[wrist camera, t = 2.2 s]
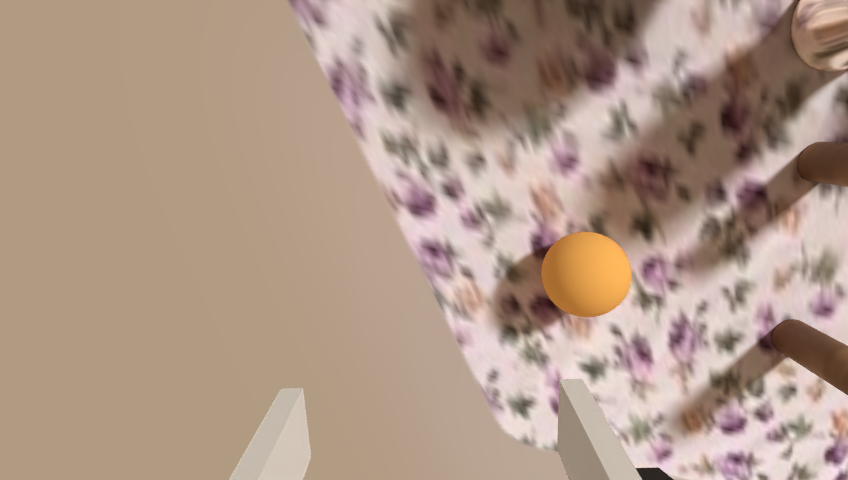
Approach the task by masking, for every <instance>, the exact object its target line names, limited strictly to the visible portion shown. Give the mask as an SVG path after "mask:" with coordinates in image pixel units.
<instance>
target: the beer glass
mask: <svg viewBox="0 0 848 480" xmlns="http://www.w3.org/2000/svg"><path fill="white" fill-rule="evenodd" d="M791 36H792V41H793V45H794V48H795V50H796V52H797V53H798V55H799V56H800V58H801V59H802V60H803V61H804V62H805V63H807V64H808V65H809V66H811V67H813V68H815V69H818V70H822V71H831V72H833V71H842V70H846V69H848V0H799V1H798V3H797V5H796V8H795V11H794V14H793V18H792V24H791Z"/></svg>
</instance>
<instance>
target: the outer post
mask: <svg viewBox="0 0 848 480" xmlns="http://www.w3.org/2000/svg"><path fill="white" fill-rule="evenodd" d="M771 341H772V344H773V346H774V347H775V348H776V349H777V350H779V351H780V352H782V353H783V354H785V355H786V356H788V357H789V358H791V359H792V360H794V361H796V362H797V363H799V364H800V365H802V366H803V367H805V368H806V369H808V370H810V371H811V372H813V373H814V374H816V375H817V376H819V377H820V378H822V379H824V380H825V381H827V382H828V383H830V384H831V385H833V386H834V387H836V388H837V389H839V390H841V391H842V392H844V393H845V394H847V395H848V346H847V345H845V344H843V343H841V342H839V341H837V340H835V339H833V338H831V337H830V336H828V335H826V334H824V333H822V332H820V331H818V330H816V329H814V328H813V327H811V326H809V325H807V324H805V323H803V322H801V321H799V320H787V321H784V322H782V323H780V324H779V325H778V326H777V327H776V328H775V329H774V331H773V333H772V336H771Z"/></svg>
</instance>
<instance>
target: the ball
mask: <svg viewBox="0 0 848 480" xmlns="http://www.w3.org/2000/svg"><path fill="white" fill-rule="evenodd" d="M541 278H542V284H543V287H544V289H545V291H546V293H547V295H548V297H549V298H550V300H551V301H552V302H553V303H554V304H555V305H556V306H557V307H559V308H560V309H562V310H563V311H565V312H567V313H569V314H572V315H575V316H580V317H595V316H600V315H603V314H606V313H608V312H610V311H611V310H613V309H614V308H616V307H617V306H618V305H619V304H620V303H621V302H622V301H623V299H624V298H625V296H626V295H627V293H628V290H629V287H630V284H631V267H630V264H629V260H628V258H627V256H626V255H625V253H624V251H623V250H622V249H621V248H620V246H619V245H617V244H616V243H615V242H614V241H613V240H611V239H609V238H608V237H605V236H603V235H601V234H598V233H593V232H577V233H573V234H570V235H567V236H565V237H563V238H561V239H560V240H558V241H557V242H556V243H555V244H553V246H552V247H551V248H550V249H549V250H548V252H547V254H546V256H545V258H544V260H543V263H542V269H541Z"/></svg>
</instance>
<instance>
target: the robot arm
mask: <svg viewBox="0 0 848 480" xmlns="http://www.w3.org/2000/svg"><path fill="white" fill-rule="evenodd" d="M557 450H558V452H559V455H560V457H561V460H562V462H563V465H564V467H565V470H566V473H567V475H568V478H569V480H673V479H672V478H671V477H670V476H668V475H667V474H666V473H665V472H663V471H662V470H661V469H660V468H635V467H634V465H633V463H632V462H631V460H630V458H629V457H628V455H627V453H626V452H625V450H624V448H623V447H622V445H621V443H620V442H619V440H618V438H617V437H616V435H615V433H614V432H613V430H612V428H611V427H610V425H609V423H608V422H607V420H606V418H605V417H604V415H603V413H602V412H601V410H600V408H599V407H598V405H597V403H596V402H595V400H594V398H593V397H592V395H591V393H590V391H589V390H588V388H587V386H586V385H585V383H584V381H583V380H582V379H564V380H559V408H558V443H557ZM310 458H311V450H310V442H309V434H308V427H307V418H306V409H305V401H304V393H303V388H291V389H281V390H280V391H279V393H278V395H277V397H276V398H275V400H274V402H273V404H272V405H271V407H270V409H269V411H268V412H267V414H266V416H265V418H264V419H263V421H262V423H261V424H260V426H259V428H258V430H257V432H256V433H255V435H254V437H253V439H252V440H251V442H250V444H249V446H248V447H247V449H246V451H245V452H244V454H243V456H242V458H241V460H240V461H239V463H238V465H237V466H236V468H235V470H234V472H233V473H232V475H231V477H230V479H229V480H303V477H304V475H305V472H306V469H307V467H308V463H309V461H310Z"/></svg>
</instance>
